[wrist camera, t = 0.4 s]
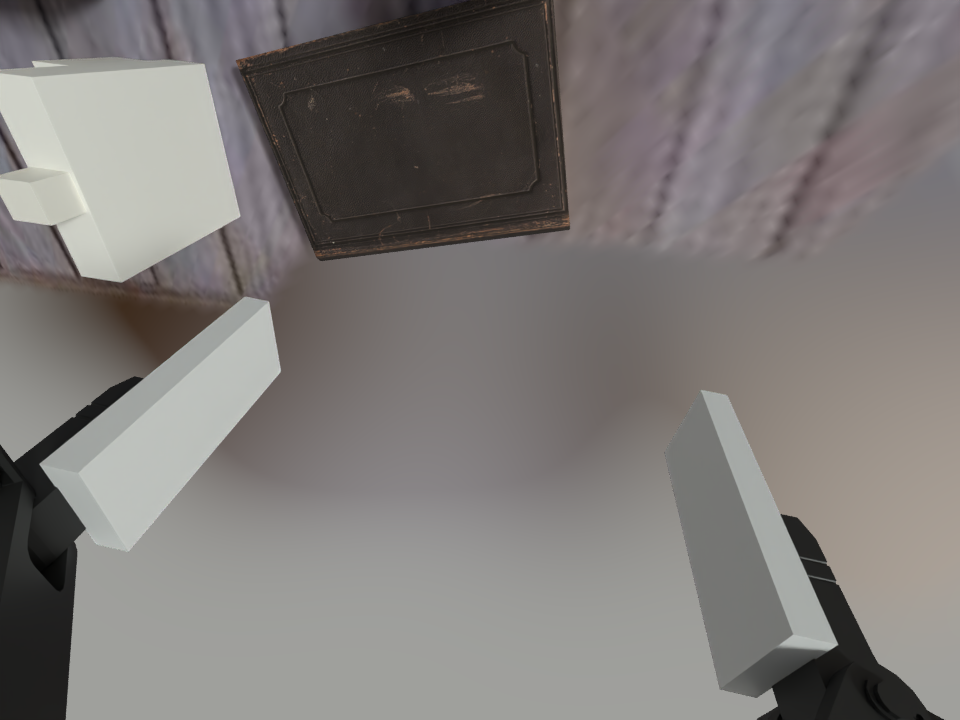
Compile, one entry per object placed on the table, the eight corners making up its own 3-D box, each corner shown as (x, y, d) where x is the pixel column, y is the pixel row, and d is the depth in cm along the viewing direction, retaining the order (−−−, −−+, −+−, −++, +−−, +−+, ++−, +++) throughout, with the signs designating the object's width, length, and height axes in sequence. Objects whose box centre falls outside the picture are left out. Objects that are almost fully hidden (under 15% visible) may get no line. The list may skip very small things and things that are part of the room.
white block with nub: (115, 53, 35) (-153, 63, 22) (204, 63, 35) (-16, 80, 22) (165, 205, 42) (-14, 281, 29) (240, 216, 42) (91, 299, 29)
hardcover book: (252, 59, 35) (235, 60, 33) (552, -17, 29) (551, -21, 27) (329, 254, 43) (318, 264, 42) (569, 223, 38) (570, 232, 36)
